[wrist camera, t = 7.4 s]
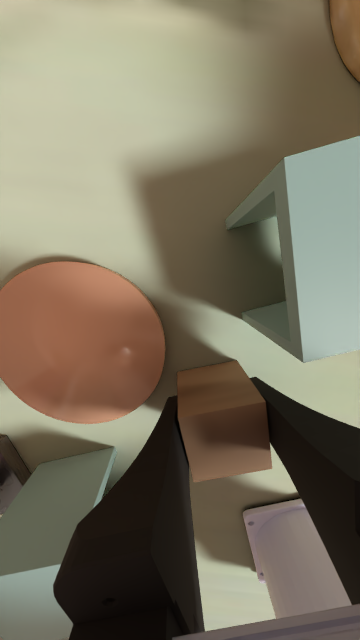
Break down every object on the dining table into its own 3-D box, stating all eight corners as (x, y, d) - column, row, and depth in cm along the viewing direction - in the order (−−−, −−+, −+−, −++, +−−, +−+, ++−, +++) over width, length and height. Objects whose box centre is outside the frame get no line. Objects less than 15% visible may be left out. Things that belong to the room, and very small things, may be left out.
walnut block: (243, 410, 13) (272, 468, 9) (188, 420, 13) (193, 482, 9) (236, 360, 12) (265, 401, 8) (177, 371, 12) (178, 418, 8)
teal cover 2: (339, 295, 11) (494, 317, 6) (242, 320, 11) (303, 362, 6) (336, 189, 10) (537, 84, 4) (225, 220, 10) (284, 157, 5)
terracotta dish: (182, 393, 13) (183, 403, 12) (45, 426, 13) (35, 438, 12) (137, 241, 10) (133, 238, 9) (-30, 287, 11) (-50, 289, 10)
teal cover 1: (138, 500, 15) (117, 628, 10) (69, 515, 15) (11, 648, 10) (114, 446, 14) (74, 561, 8) (39, 463, 14) (-49, 586, 8)
